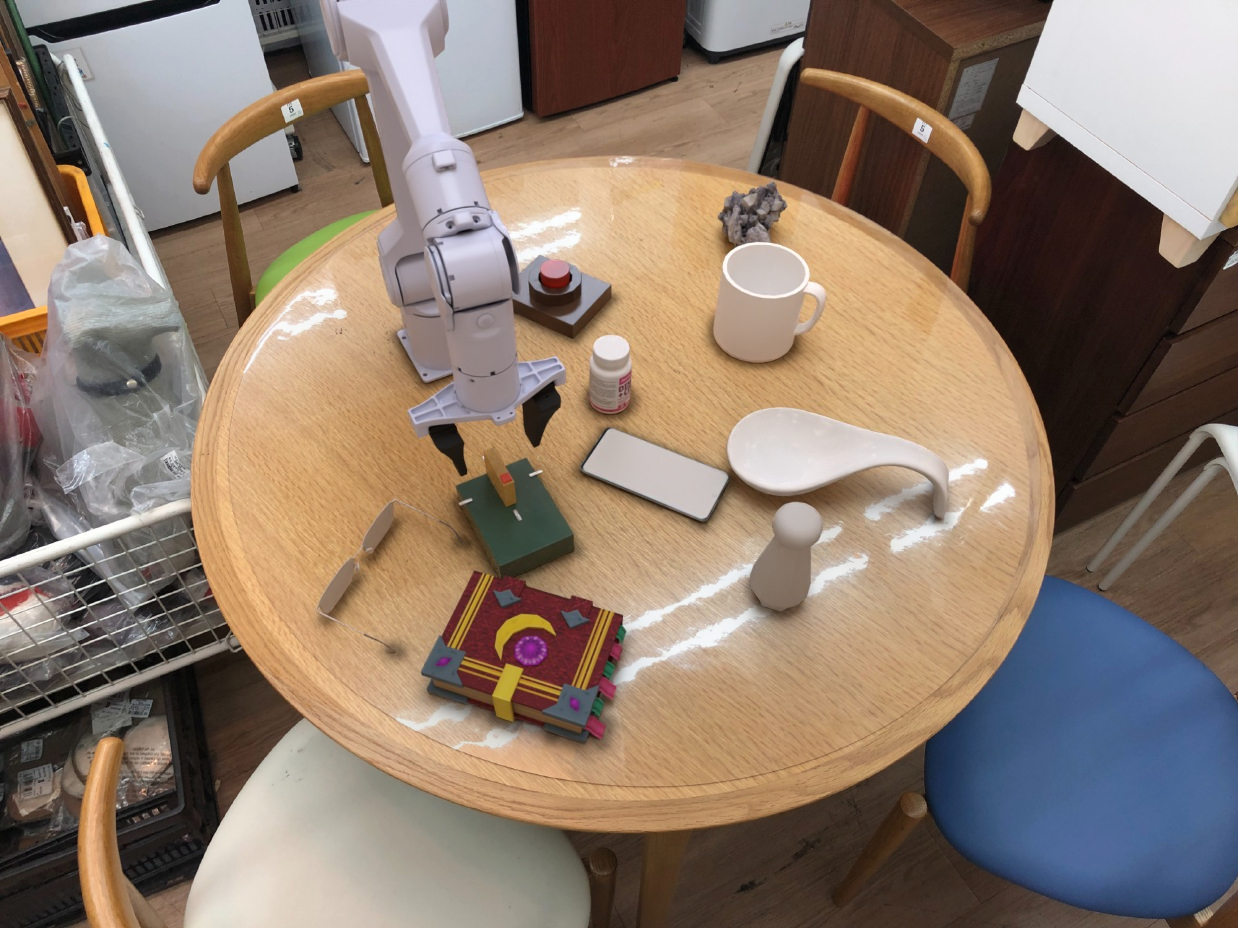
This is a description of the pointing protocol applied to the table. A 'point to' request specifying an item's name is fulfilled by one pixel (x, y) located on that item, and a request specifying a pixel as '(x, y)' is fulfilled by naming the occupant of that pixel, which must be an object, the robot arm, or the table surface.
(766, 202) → the mineral specimen
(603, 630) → the decorative book
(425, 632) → the table surface
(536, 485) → the dark green flat block
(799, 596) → the salt shaker
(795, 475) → the spoon rest
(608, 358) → the pill bottle
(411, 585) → the table surface
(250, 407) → the table surface
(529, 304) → the dark button base
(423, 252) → the robot arm
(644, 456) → the smartphone
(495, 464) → the red-dot tan block
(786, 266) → the mug
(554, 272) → the button
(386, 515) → the eyeglasses
